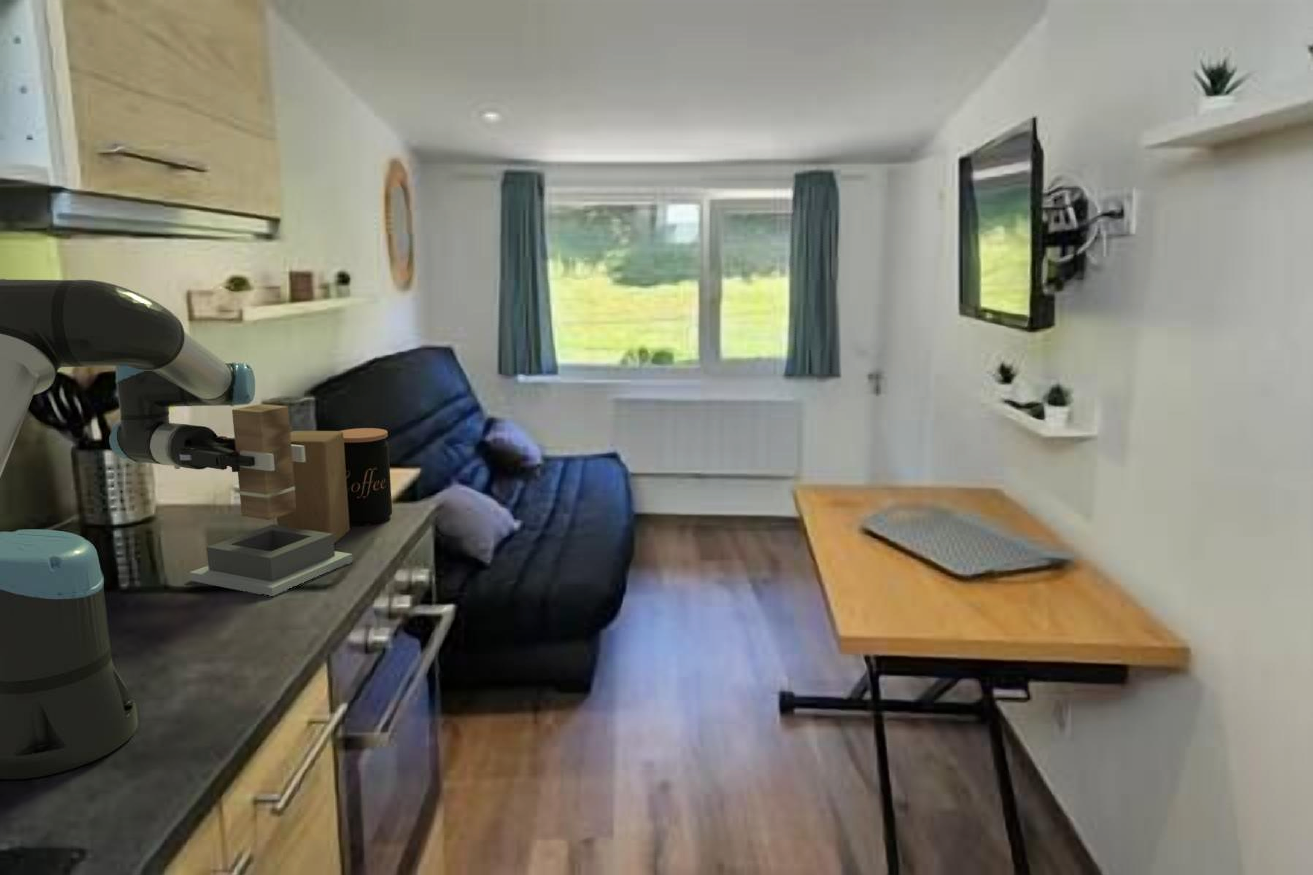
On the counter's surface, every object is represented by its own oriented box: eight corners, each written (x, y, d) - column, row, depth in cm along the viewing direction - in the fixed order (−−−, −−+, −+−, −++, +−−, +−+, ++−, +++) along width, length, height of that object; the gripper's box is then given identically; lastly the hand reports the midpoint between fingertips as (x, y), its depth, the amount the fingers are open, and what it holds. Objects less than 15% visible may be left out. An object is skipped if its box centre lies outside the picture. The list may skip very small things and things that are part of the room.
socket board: (272, 596, 142) (270, 563, 141) (190, 580, 149) (187, 548, 147) (352, 562, 158) (350, 532, 157) (274, 549, 165) (272, 520, 164)
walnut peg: (268, 520, 148) (259, 412, 144) (241, 515, 150) (231, 409, 146) (296, 510, 153) (288, 406, 149) (269, 506, 155) (261, 404, 152)
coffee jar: (333, 527, 178) (327, 438, 174) (343, 513, 188) (337, 428, 185) (389, 525, 180) (384, 437, 176) (395, 510, 190) (391, 427, 186)
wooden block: (331, 546, 166) (324, 441, 162) (278, 546, 166) (269, 440, 162) (350, 530, 176) (344, 430, 172) (300, 530, 176) (292, 430, 172)
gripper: (233, 456, 166) (331, 468, 157) (139, 479, 149) (243, 494, 140) (229, 416, 164) (328, 425, 155) (134, 434, 147) (239, 447, 138)
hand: (288, 458), depth 148 cm, fingers closed on walnut peg, 6 cm apart
